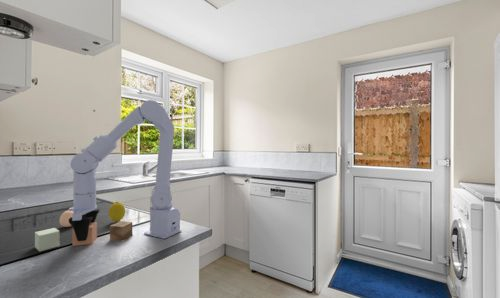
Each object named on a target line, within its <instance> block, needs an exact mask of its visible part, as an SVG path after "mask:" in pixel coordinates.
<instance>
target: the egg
mask: <svg viewBox="0 0 500 298" xmlns="http://www.w3.org/2000/svg"><path fill="white" fill-rule="evenodd" d="M72 214H73V211H69V209H68V210H65V211H64V212H63V213H61V215H60V217H59V224H60V226H62V227H65V228H70V227H72V225H71V224H70V223H69V218H71V217H72Z"/></svg>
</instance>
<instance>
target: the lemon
mask: <svg viewBox="0 0 500 298" xmlns="http://www.w3.org/2000/svg"><path fill="white" fill-rule="evenodd" d="M125 215H126V208H125V204H123V203H122V202H119V201H115V202H114V203H112V204H111V205H110V207H109V208H108V217H109V219H110V220H111V221H113V222H115V223H118V222H120V221H122V220H123V219H124V217H125Z"/></svg>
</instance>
